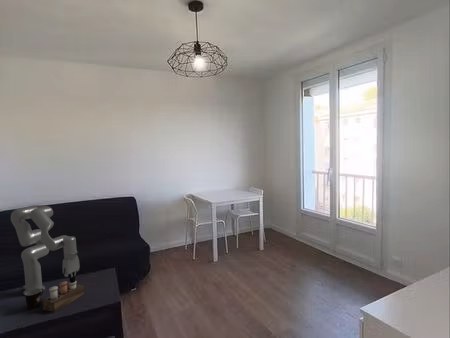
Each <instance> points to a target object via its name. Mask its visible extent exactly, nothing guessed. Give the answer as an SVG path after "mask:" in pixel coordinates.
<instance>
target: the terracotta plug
mask: <svg viewBox="0 0 450 338" xmlns="http://www.w3.org/2000/svg"><path fill="white" fill-rule="evenodd" d="M58 285H59V291H60V294H61V295H64V294H66V293H67V286H68V281H67V280H63V281H60V282H58Z"/></svg>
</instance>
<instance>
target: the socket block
mask: <svg viewBox="0 0 450 338" xmlns="http://www.w3.org/2000/svg"><path fill="white" fill-rule="evenodd" d="M84 290H85V289H84V285H82V284H81V285H80V284H76V288H75V289H73V290H71V289H70V288H69V285H67V293H66V294H64V295H61V294H60V290H57V293H58V298H57V299H56V300H54V301H53V300H50V295H49V296H48V297H46V298H44V299H42V300H41V301H42V309H43V310H44V311H49V312H53V313H56V312H57V311H59V310H61V309H62V308H64V307H66V306H68V305H69V304H71V303H72V302H73V301H75V300H77V299H78V298H81V297H82V296H84V295H85V291H84ZM83 294H84V295H83ZM43 310H42V311H43Z"/></svg>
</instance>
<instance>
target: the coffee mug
mask: <svg viewBox="0 0 450 338" xmlns="http://www.w3.org/2000/svg"><path fill="white" fill-rule="evenodd" d="M41 290H42V292H41ZM43 294H44V290H43V289H39V288H37V289H32V290H29V291H27V292H26V293H25V295H24V298H25V302H26V306H27V309H28V310H27V311H34V310H36V309H38V308H40V306H41V301H42V300H41V299H42V295H43Z"/></svg>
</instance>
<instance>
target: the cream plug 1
mask: <svg viewBox="0 0 450 338" xmlns="http://www.w3.org/2000/svg"><path fill="white" fill-rule="evenodd" d="M58 289H59V287H58V286H57V285H54V286H53V285H52V286H51V287H49V288H48V291H49V296H50V300H53V301H54V300H56V299H57V298H58V293H57V292H58Z"/></svg>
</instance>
